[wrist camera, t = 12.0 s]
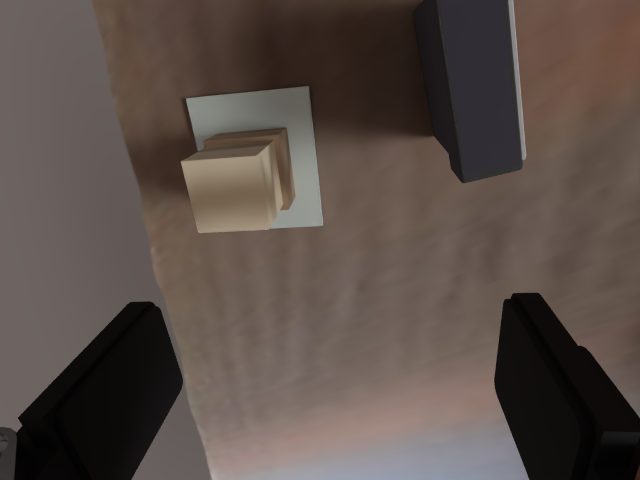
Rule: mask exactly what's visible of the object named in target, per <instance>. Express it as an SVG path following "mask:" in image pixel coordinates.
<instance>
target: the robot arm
mask: <svg viewBox="0 0 640 480" xmlns="http://www.w3.org/2000/svg"><path fill="white" fill-rule="evenodd" d="M494 383H495V390H496V394H497V397H498V399H499V402H500V404H501V407H502V410H503V412H504V415H505V417H506V420H507V423H508V425H509V428H510V430H511V433H512V436H513V438H514V441H515V443H516V446H517V448H518V451H519V454H520V456H521V459H522V461H523V464H524V467H525V469H526V472H527V474H528V477H529V480H640V418H639V416H638V415H637V414H636V412H635V411H634V410H633V409H632V407H631V406H630V405H629V403H628V402H627V401H626V399H625V398H624V397H623V395H622V394H621V393H620V391H619V390H618V389H617V387H616V386H615V385H614V383H613V382H612V381H611V379H610V378H609V377H608V376H607V374H606V373H605V372H604V370H603V369H602V368H601V366H600V365H599V364H598V362H597V361H596V360H595V358H594V357H593V356H592V354H591V353H590V352H589V351H588V350H587V349H586V348H585V347H582V346H578V345H577V344H576V342H575V341H574V340H573V338H572V337H571V336H570V334H569V333H568V332H567V330H566V329H565V327H564V326H563V325H562V323H561V322H560V321H559V319H558V318H557V317H556V315H555V314H554V312H553V311H552V310H551V308H550V307H549V306H548V304H547V303H546V302H545V300H544V299H543V297H542V296H541V295H540V294H539V293H514V294H512V296H511V299H505V300H504V303H503V311H502V319H501V327H500V336H499V344H498V353H497V361H496V370H495V378H494ZM182 384H183V378H182V374H181V371H180V368H179V365H178V362H177V359H176V356H175V353H174V349H173V346H172V343H171V340H170V337H169V334H168V331H167V328H166V325H165V322H164V319H163V315H162V312H161V310H160V308H159V307H157V306H155V304H154V303H153V302H130V303H129V304H127V305H126V307H124V309H123V310H122V311H121V312H120V313H119V314H118V315H117V316H116V317H115V318H114V319H113V320H112V321H111V322H110V323H109V324H108V325H107V326H106V327H105V328H104V330H102V331H101V332H100V333H99V334H98V336H97V337H95V339H94V340H93V341H92V342H91V343H90V344H89V345H88V346H87V347H86V348H85V349H84V350H83V351H82V352H81V353H80V354H79V355H78V356H77V357H76V358H75V359H74V360H73V361H72V362H71V363H70V365H68V367H67V368H66V369H65V370H64V371H63V372H62V373H61V374H60V375H59V376H58V377H57V378H56V379H55V380H54V381H53V382H52V383H51V384H50V385H49V386H48V387H47V388H46V389H45V390H44V391H43V392H42V394H40V396H39V397H38V398H37V399H36V400H35V401H34V402H33V403H32V404H31V405H30V406H29V407H28V408H27V409H26V410H25V411H24V412H23V413H22V414H21V415H20V416H19V417H18V419H19V420H20V422H21V424H22V427H21V428H20V429H19V430H18V432H17V433H16V432H15V431H14V430H12V429H11V428H6V427H0V480H131V479H132V477H133V475H134V474H135V472H136V470H137V468H138V466H139V465H140V463H141V461H142V459H143V458H144V456H145V454H146V452H147V450H148V449H149V447H150V445H151V443H152V441H153V439H154V438H155V436H156V434H157V432H158V430H159V429H160V427H161V425H162V423H163V422H164V420H165V418H166V416H167V414H168V413H169V411H170V409H171V407H172V405H173V404H174V402H175V400H176V398H177V396H178V395H179V393H180V391H181V389H182Z"/></svg>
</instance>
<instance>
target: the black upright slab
mask: <svg viewBox="0 0 640 480" xmlns="http://www.w3.org/2000/svg"><path fill="white" fill-rule="evenodd" d="M413 18H414V23H415V29H416V35H417V40H418V46H419V52H420V58H421V63H422V69H423V75H424V80H425V86H426V92H427V98H428V103H429V109H430V115H431V120H432V126H433V132H434V136H435V138H436V139H437V140H438V141H439V143H440V144H441V145H442V146H443V147H444V148H445V150H446V151H447V152H448V153H449V159H450V165H451V169H452V171H453V172H454V173H455V174H456V176H457V177H458V178H459V180H460V181H461V182H462V183H467V182H471V181H476V180H480V179H484V178H488V177H492V176H497V175H501V174H505V173H509V172H513V171H517V170H521V169H522V166H523V161H522V160H524V159H526V148H525V137H524V125H523V113H522V101H521V89H520V78H519V66H518V54H517V42H516V30H515V18H514V7H513V0H424V1H423V2H422V3H421V4H420V5H419V6H418V7H417V8H416V9H415V10H414V11H413Z"/></svg>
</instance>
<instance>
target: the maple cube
mask: <svg viewBox="0 0 640 480" xmlns="http://www.w3.org/2000/svg"><path fill="white" fill-rule="evenodd" d="M181 165H182V169H183V173H184V177H185V181H186V185H187V189H188V193H189V197H190V201H191V205H192V209H193V213H194V217H195V221H196V225H197V229H198V233H208V232H229V231H250V230H269V228H270V227H271V225H272V223H273V221H274V219H275V218H276V216H277V214H278V212H279V211H280V209H281V207H282V205H283V200H282V193H281V186H280V179H279V172H278V166H277V159H276V152H275V145H274V140H270V141H258V142H245V143H233V144H220V145H209V146H207V147H205V148H204V149H202V150H200V151H198V152H197V153H195V154H193V155H191V156H189V157H188V158H186V159H184V160H182V161H181Z"/></svg>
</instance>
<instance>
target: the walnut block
mask: <svg viewBox="0 0 640 480" xmlns="http://www.w3.org/2000/svg"><path fill="white" fill-rule="evenodd" d="M270 140H274V145H275V152H276V159H277V166H278V172H279V179H280V186H281V193H282V200H283V205H282V207H281V209H280V210H289V208H290V206H291V204H292V203H293V201H294V199H295V197H296V195H295V187H294V179H293V172H292V164H291V156H290V148H289V141H288V133H287V128H275V129H263V130H252V131H240V132H228V133H218V134H216V135H214V136H212V137H210V138H208V139H206V140H204V141H203V145H204V148H205V147H207V146H209V145H220V144H233V143H245V142H258V141H270Z"/></svg>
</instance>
